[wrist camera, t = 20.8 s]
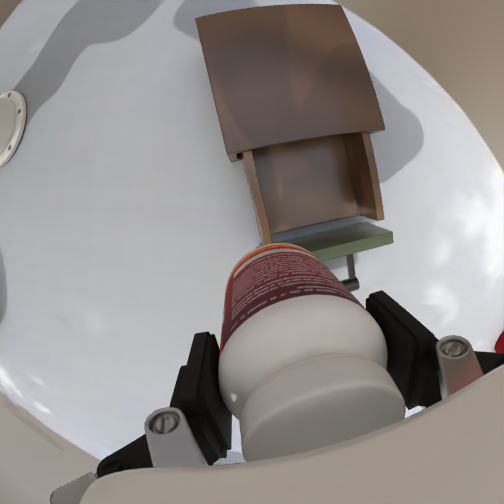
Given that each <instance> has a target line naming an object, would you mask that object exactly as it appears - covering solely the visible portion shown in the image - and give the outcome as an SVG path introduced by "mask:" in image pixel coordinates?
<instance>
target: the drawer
mask: <svg viewBox="0 0 504 504" xmlns="http://www.w3.org/2000/svg"><path fill="white" fill-rule="evenodd" d="M241 155H242V159H243V164H244V168H245V172H246V176H247V181H248V185H249V189H250V193H251V198H252V202H253V206H254V211H255V215H256V219H257V224H258V228H259V233H260V236H261V239H262V241H263V244H264V245H268V244H273V241H272V237H271V234H274V233H278V232H282V231H287V230H291V229H295V228H300V227H304V226H309V225H313V224H318V223H322V222H327V221H331V220H336V219H340V218H345V217H349V216H354V215H361V216H364V217H367V218H370V219H373V220H377V221H380V220H384V212H383V205H382V198H381V191H380V185H379V179H378V174H377V168H376V163H375V158H374V153H373V149H372V144H371V140H370V135H369V132H364V133H354V134H346V135H337V136H330V137H323V138H316V139H309V140H303V141H297V142H291V143H285V144H280V145H275V146H270V147H265V148H260V149H255V150H250V151H246V152H241ZM278 243H288V244H293V245H297V246H299V247H302V248H304V249H306V250H307V251H309V252H311V253H312V254H313V255H315V256H316V257H317V258H318V259H319V260H320V261H321V262H322V261H326V260H330V259H334V258H338V257H342V256H346V257H347V265H348V274H349V279H346V280H342V281H340V282H341V283H342V284H343V285H344V286H345V287H346V288H347V289H348V290H349V292H351V291H355V290H358V289H359V282H358V279H357V278H356V277H355V268H354V259H353V253H357V252H361V251H365V250H369V249H373V248H376V247H380V246H384V245H388V244H391V243H393V232H392V231H389V230H386V229H384V228H381V227H378V226H375V225H373V224H370V223H367V222H365V223H361V224H356V225H352V226H348V227H343V228H339V229H334V230H330V231H326V232H321V233H317V234H313V235H308V236H304V237H300V238H295V239H291V240H287V241H282V242H278ZM257 248H259V247H257Z"/></svg>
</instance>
